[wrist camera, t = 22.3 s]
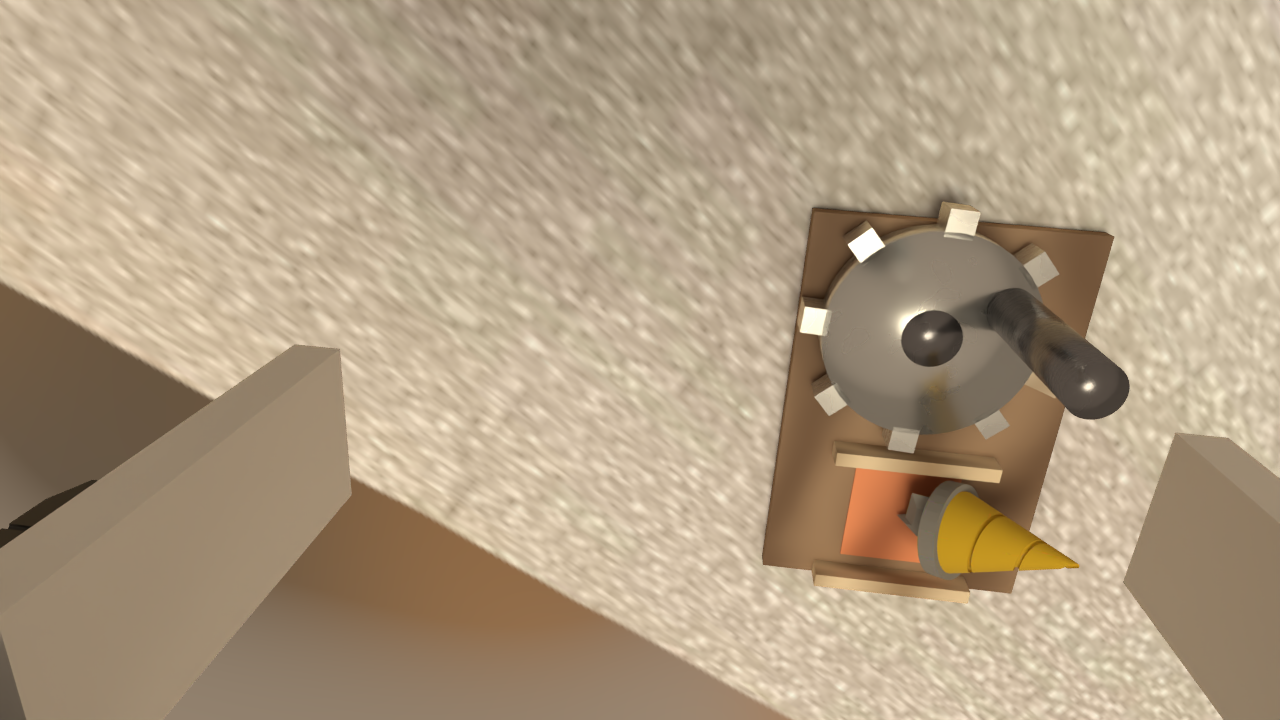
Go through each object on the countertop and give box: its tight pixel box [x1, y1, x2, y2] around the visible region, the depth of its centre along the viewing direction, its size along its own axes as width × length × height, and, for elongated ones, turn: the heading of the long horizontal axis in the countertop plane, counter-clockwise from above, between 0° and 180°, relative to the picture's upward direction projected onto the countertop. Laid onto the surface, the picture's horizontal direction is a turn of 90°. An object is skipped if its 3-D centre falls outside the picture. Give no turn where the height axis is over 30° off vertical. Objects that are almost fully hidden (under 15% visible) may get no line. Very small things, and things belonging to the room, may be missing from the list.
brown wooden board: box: [762, 208, 1114, 603], centre depth 45 cm, size 15×22×2 cm
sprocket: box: [797, 202, 1129, 453], centre depth 37 cm, size 13×13×12 cm
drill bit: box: [897, 481, 1079, 580], centre depth 43 cm, size 5×5×10 cm
